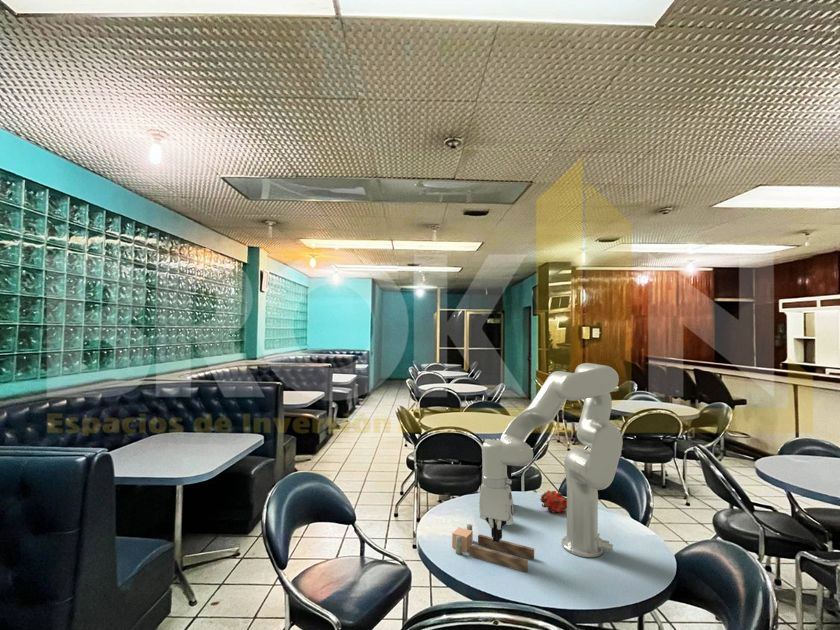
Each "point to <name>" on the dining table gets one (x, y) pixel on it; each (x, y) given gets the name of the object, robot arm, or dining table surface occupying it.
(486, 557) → the chute
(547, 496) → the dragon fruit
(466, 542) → the block
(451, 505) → the dining table surface
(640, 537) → the dining table surface
